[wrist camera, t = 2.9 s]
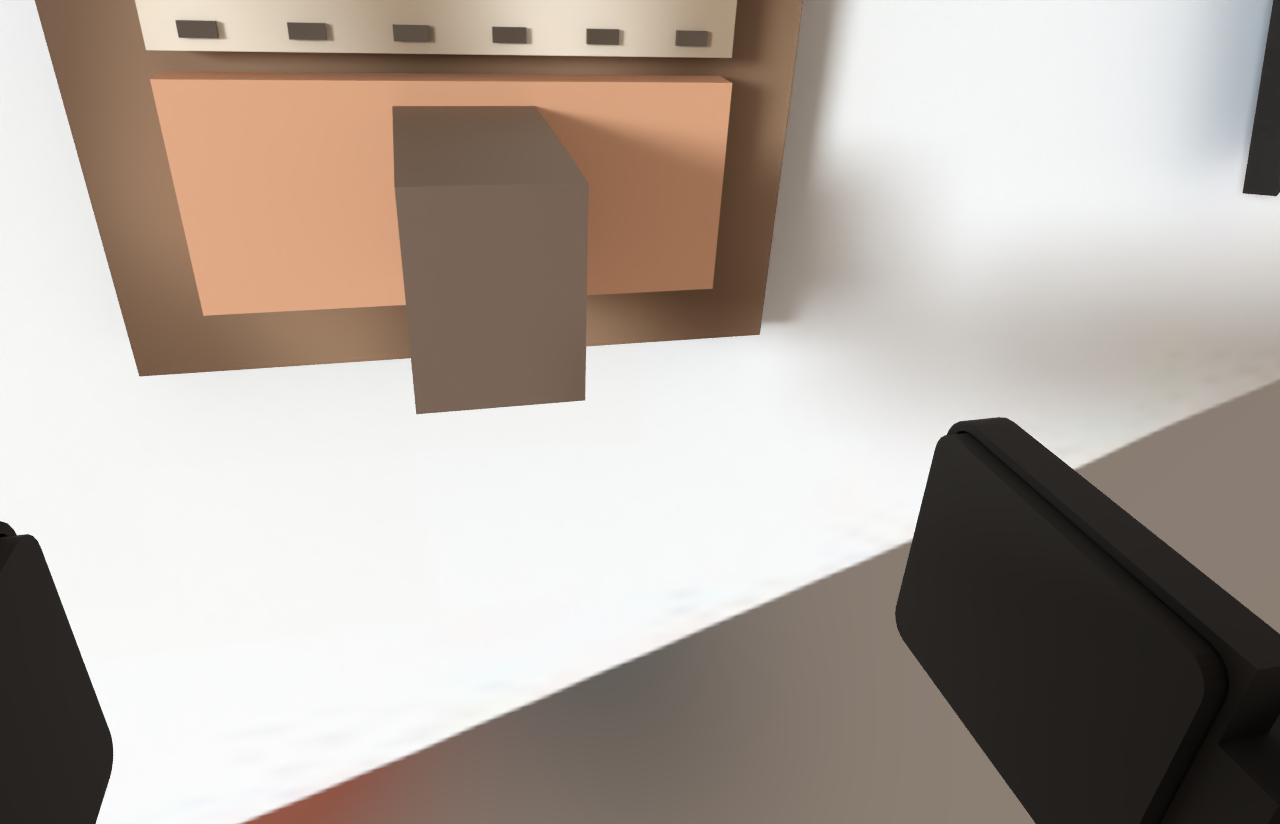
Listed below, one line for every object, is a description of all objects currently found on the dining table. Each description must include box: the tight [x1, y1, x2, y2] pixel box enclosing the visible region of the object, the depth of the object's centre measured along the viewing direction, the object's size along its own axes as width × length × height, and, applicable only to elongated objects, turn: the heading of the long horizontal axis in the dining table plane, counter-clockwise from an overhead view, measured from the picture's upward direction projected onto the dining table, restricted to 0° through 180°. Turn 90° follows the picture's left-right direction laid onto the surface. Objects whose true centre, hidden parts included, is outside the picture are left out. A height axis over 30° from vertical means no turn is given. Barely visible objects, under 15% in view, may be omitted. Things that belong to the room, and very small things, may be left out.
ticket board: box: [35, 0, 803, 376], centre depth 19 cm, size 16×15×3 cm
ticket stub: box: [150, 71, 732, 414], centre depth 17 cm, size 12×5×7 cm, turn 87°
